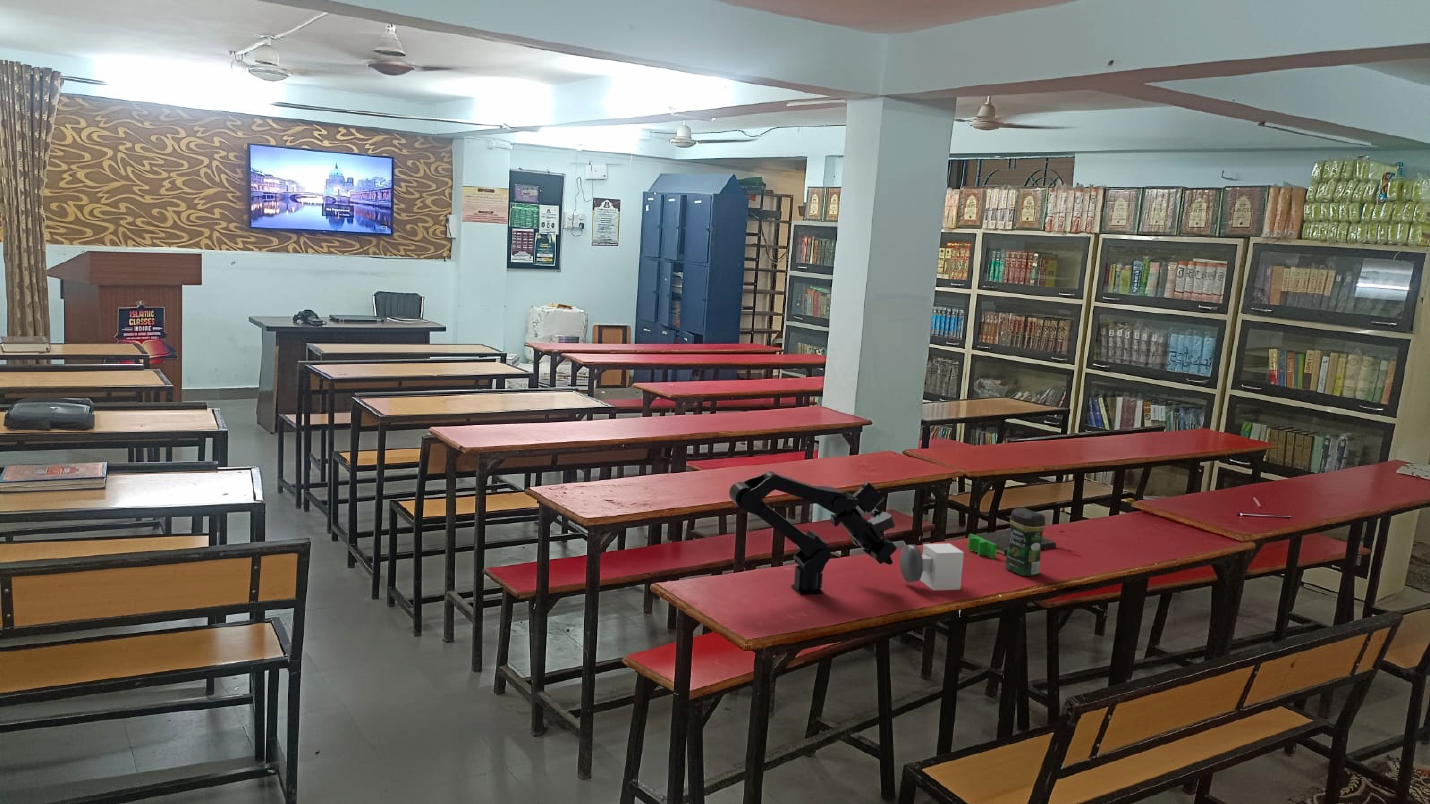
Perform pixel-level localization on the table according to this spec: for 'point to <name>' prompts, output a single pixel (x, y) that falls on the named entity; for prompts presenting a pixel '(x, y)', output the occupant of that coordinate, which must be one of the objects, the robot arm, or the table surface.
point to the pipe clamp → (981, 546)
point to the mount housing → (943, 567)
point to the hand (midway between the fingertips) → (891, 563)
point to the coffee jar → (1025, 542)
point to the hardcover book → (1004, 538)
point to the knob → (914, 563)
